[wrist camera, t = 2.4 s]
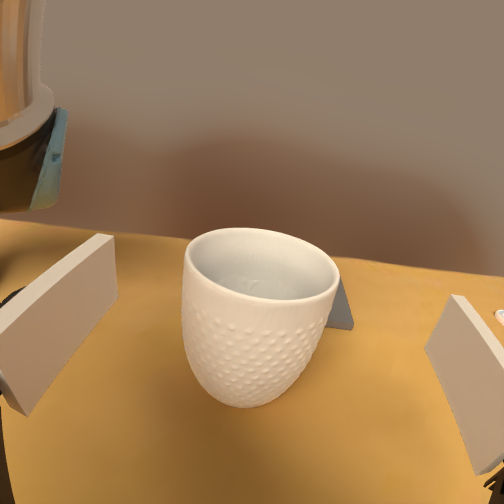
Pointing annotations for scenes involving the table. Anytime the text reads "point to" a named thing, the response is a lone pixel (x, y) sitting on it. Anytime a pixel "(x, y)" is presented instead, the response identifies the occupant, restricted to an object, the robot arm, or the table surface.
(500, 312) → the calculator
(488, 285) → the table surface
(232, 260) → the mug
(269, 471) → the table surface
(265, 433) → the table surface
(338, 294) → the kitchen scale
